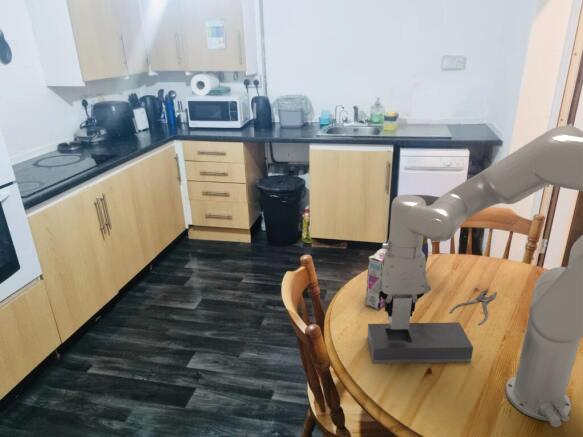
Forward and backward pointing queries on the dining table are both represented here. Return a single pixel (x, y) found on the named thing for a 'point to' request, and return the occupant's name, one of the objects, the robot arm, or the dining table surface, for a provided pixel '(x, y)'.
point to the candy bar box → (374, 279)
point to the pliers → (479, 299)
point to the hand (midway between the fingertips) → (399, 312)
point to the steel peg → (400, 312)
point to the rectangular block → (419, 343)
